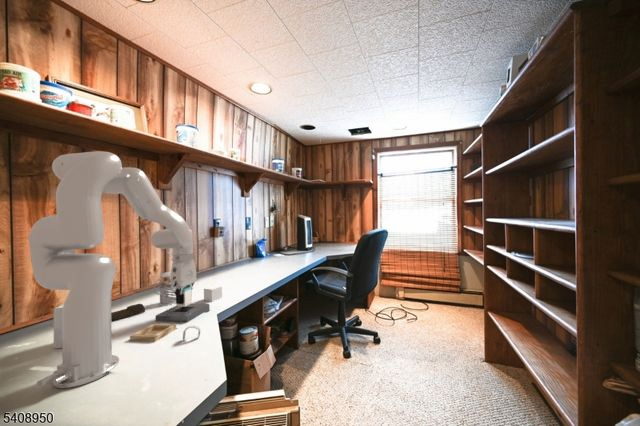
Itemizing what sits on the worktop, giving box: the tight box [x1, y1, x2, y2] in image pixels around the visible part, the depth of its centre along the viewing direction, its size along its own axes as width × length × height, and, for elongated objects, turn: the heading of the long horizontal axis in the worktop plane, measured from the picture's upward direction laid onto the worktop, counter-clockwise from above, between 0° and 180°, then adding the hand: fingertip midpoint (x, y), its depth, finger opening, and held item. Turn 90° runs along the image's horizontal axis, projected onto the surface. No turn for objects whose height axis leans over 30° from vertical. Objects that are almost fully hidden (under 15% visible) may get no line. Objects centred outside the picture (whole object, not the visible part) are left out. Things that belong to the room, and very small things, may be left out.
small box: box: [53, 304, 64, 349], centre depth 82 cm, size 8×6×13 cm
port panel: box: [154, 303, 211, 323], centre depth 101 cm, size 14×14×3 cm
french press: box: [152, 251, 176, 307], centre depth 120 cm, size 10×12×25 cm
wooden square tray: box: [128, 323, 179, 343], centre depth 84 cm, size 10×10×2 cm
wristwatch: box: [182, 325, 201, 342], centre depth 80 cm, size 3×5×5 cm, turn 111°
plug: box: [175, 287, 193, 307], centre depth 102 cm, size 4×4×7 cm
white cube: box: [203, 285, 223, 302], centre depth 123 cm, size 6×6×6 cm
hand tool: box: [111, 303, 146, 322], centre depth 100 cm, size 19×4×5 cm, turn 138°
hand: (184, 301), depth 102 cm, fingers closed on plug, 3 cm apart
